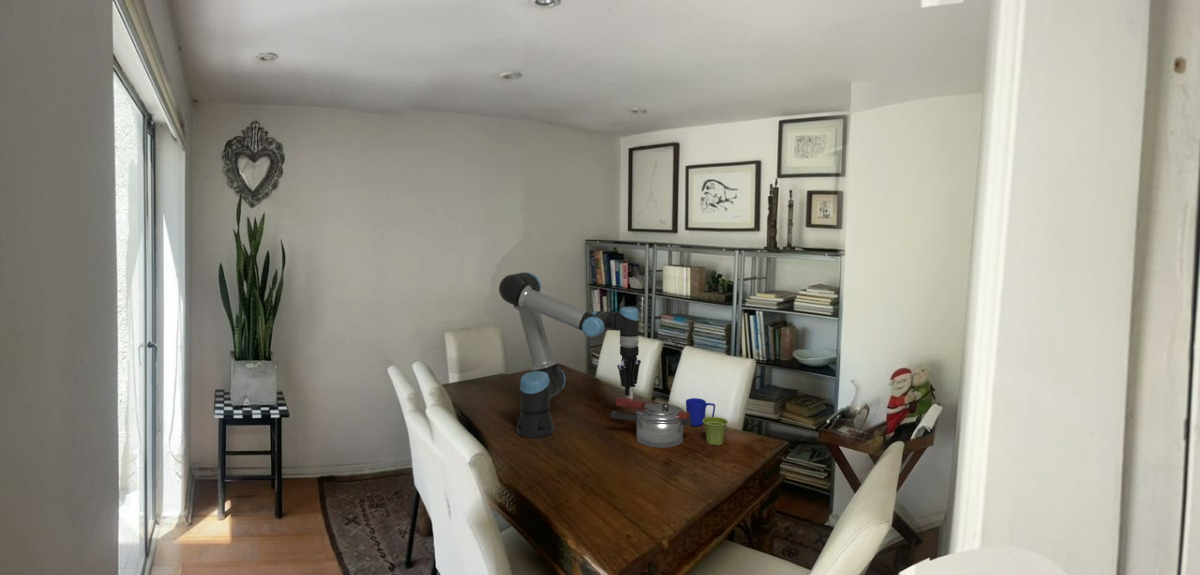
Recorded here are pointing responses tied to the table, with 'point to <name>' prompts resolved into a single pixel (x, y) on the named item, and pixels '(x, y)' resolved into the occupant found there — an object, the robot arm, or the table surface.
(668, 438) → the pot
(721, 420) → the plant pot
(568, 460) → the table surface
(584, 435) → the table surface
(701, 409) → the mug
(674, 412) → the lid
